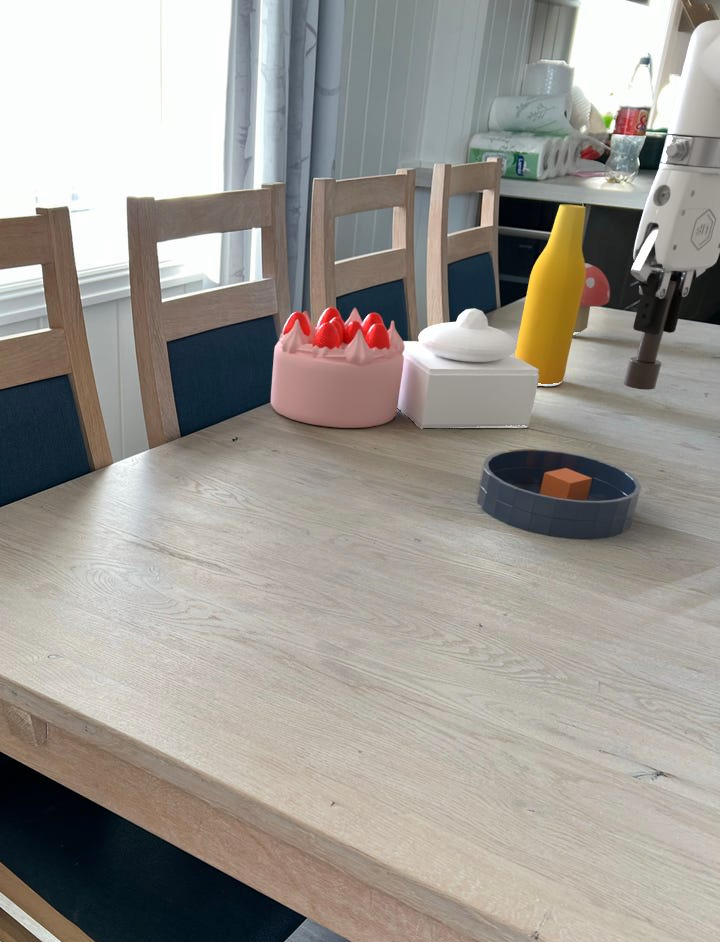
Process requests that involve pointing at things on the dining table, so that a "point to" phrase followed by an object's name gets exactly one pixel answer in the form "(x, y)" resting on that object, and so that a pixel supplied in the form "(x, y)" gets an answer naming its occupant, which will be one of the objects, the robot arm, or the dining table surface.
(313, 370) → the cake
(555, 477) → the block
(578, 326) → the decorative mushroom
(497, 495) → the bowl
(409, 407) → the butter dish
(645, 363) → the pestle
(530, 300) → the beer bottle
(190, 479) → the dining table surface
